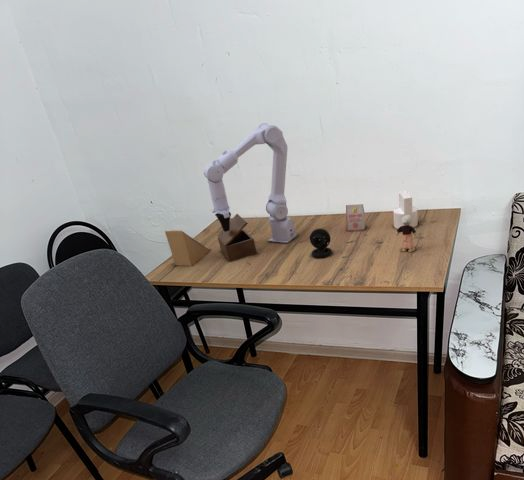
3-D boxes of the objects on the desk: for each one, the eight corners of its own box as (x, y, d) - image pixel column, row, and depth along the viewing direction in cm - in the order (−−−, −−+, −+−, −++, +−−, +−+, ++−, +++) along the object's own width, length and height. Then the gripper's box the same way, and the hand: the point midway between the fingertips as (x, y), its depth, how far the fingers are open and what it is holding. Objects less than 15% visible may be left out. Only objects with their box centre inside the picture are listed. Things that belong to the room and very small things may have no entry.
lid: (238, 214, 193) (237, 213, 193) (247, 223, 182) (246, 222, 182) (217, 236, 195) (216, 235, 195) (226, 246, 184) (225, 245, 184)
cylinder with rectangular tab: (420, 226, 182) (420, 196, 176) (396, 230, 183) (396, 200, 176) (414, 219, 190) (414, 189, 183) (391, 222, 191) (390, 193, 184)
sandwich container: (211, 249, 202) (202, 215, 193) (192, 265, 191) (182, 230, 183) (194, 249, 206) (185, 216, 197) (175, 265, 195) (164, 230, 187)
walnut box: (246, 243, 201) (243, 229, 197) (256, 253, 190) (253, 238, 186) (221, 250, 199) (217, 236, 195) (229, 261, 188) (225, 247, 184)
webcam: (309, 258, 176) (306, 233, 171) (314, 250, 182) (311, 225, 176) (329, 258, 174) (326, 232, 168) (334, 249, 179) (331, 224, 174)
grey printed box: (348, 227, 195) (346, 203, 189) (365, 226, 192) (363, 202, 187) (347, 230, 192) (345, 206, 186) (363, 230, 189) (362, 205, 184)
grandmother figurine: (418, 247, 167) (419, 213, 160) (417, 252, 165) (417, 217, 158) (396, 247, 171) (396, 213, 164) (394, 252, 168) (393, 217, 161)
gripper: (204, 195, 186) (213, 228, 193) (213, 204, 174) (221, 238, 182) (221, 190, 187) (229, 223, 195) (231, 199, 175) (238, 233, 183)
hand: (226, 230), depth 188 cm, fingers closed
